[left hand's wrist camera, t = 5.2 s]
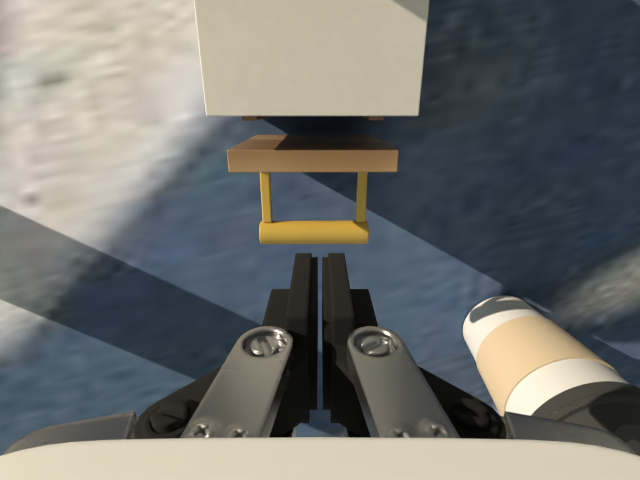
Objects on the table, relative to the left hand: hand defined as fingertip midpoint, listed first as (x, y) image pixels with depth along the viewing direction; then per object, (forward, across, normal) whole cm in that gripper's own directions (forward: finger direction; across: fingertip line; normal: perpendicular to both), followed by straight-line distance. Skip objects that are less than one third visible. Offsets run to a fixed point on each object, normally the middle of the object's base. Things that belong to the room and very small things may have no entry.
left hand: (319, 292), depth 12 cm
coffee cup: (+19, +18, -14) cm, 30 cm away
